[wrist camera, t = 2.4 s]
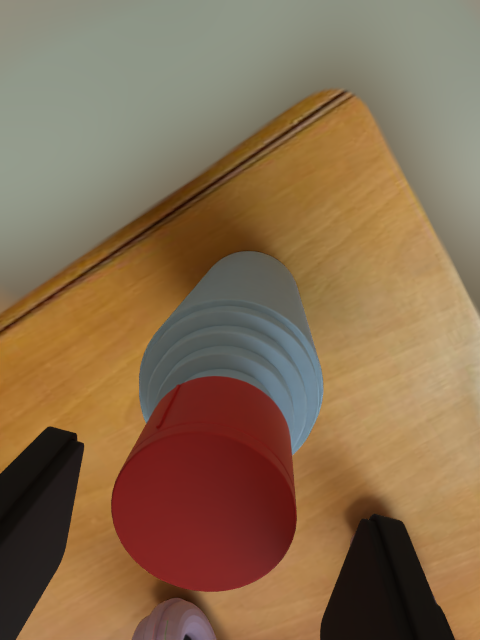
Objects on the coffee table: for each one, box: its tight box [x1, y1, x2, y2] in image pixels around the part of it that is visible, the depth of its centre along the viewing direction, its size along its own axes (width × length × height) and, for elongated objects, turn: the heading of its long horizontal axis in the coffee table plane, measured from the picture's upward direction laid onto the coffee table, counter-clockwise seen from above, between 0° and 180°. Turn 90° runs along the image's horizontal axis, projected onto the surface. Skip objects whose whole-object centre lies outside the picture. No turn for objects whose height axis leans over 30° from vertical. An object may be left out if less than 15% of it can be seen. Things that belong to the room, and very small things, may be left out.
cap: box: [111, 376, 297, 592], centre depth 11 cm, size 4×4×3 cm
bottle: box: [139, 251, 323, 455], centre depth 20 cm, size 6×6×20 cm
